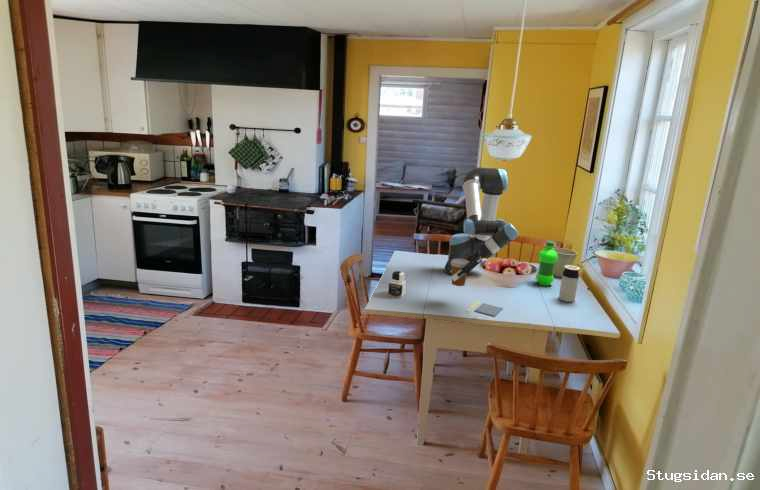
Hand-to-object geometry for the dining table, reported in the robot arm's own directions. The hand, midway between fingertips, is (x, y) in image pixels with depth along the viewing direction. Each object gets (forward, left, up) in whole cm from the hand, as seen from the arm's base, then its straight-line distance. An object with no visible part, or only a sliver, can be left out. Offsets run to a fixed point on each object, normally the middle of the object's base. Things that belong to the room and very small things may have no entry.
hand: (452, 276), depth 239 cm
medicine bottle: (-25, -10, -14) cm, 30 cm away
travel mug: (+48, +44, -14) cm, 67 cm away
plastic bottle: (+32, +62, -14) cm, 71 cm away
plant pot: (+36, +86, -14) cm, 95 cm away
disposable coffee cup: (+3, +1, -4) cm, 5 cm away
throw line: (+12, 0, -13) cm, 18 cm away
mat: (+20, +1, -13) cm, 24 cm away
